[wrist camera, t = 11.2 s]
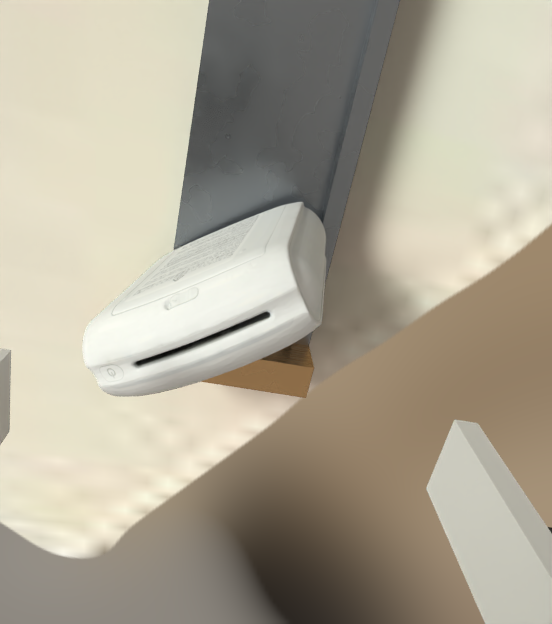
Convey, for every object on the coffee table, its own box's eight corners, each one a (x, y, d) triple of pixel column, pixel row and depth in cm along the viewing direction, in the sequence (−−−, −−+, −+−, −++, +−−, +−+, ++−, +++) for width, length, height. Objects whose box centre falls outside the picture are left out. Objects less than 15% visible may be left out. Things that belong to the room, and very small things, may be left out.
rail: (260, -337, 23) (264, -459, 17) (457, -271, 24) (514, -367, 19) (164, 331, 35) (149, 373, 30) (297, 353, 36) (305, 397, 31)
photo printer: (180, 319, 33) (99, 437, 21) (147, 257, 31) (41, 346, 20) (337, 259, 30) (341, 354, 19) (309, 188, 29) (294, 244, 17)
